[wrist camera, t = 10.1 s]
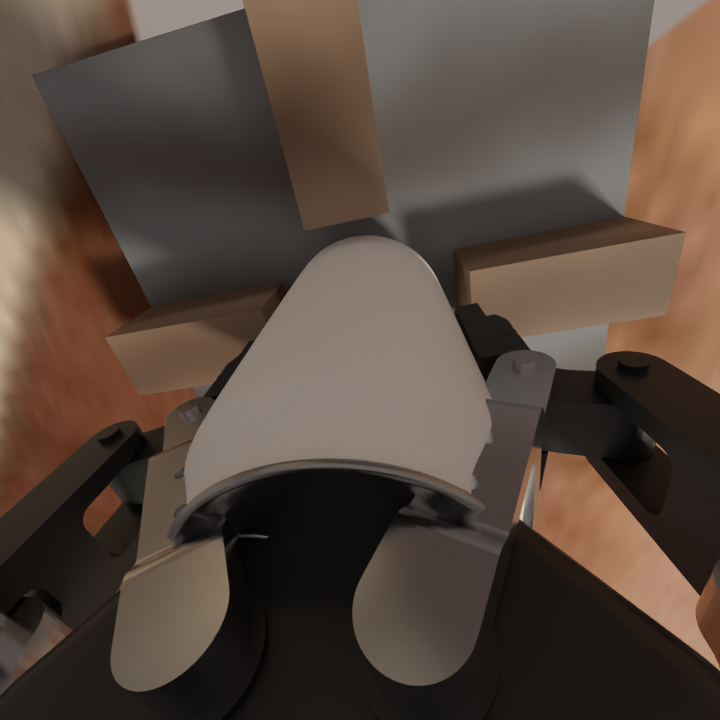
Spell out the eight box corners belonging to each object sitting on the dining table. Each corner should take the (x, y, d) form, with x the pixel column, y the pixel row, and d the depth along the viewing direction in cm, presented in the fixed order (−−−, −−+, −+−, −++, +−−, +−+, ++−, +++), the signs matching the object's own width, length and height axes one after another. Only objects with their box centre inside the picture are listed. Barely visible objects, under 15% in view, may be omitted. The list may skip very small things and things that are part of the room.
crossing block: (52, 80, 15) (-69, 52, 11) (649, -104, 11) (790, -241, 7) (245, 468, 25) (219, 526, 21) (583, 430, 22) (628, 490, 18)
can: (284, 236, 15) (45, 440, 4) (446, 228, 14) (631, 435, 4) (305, 372, 18) (198, 679, 7) (437, 369, 17) (524, 692, 7)
